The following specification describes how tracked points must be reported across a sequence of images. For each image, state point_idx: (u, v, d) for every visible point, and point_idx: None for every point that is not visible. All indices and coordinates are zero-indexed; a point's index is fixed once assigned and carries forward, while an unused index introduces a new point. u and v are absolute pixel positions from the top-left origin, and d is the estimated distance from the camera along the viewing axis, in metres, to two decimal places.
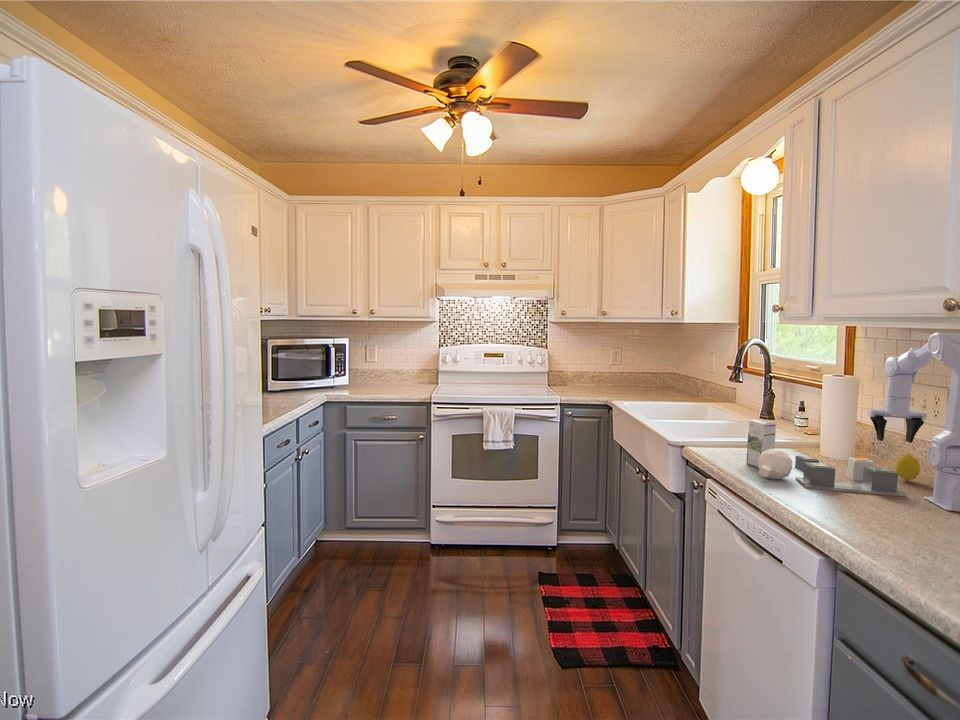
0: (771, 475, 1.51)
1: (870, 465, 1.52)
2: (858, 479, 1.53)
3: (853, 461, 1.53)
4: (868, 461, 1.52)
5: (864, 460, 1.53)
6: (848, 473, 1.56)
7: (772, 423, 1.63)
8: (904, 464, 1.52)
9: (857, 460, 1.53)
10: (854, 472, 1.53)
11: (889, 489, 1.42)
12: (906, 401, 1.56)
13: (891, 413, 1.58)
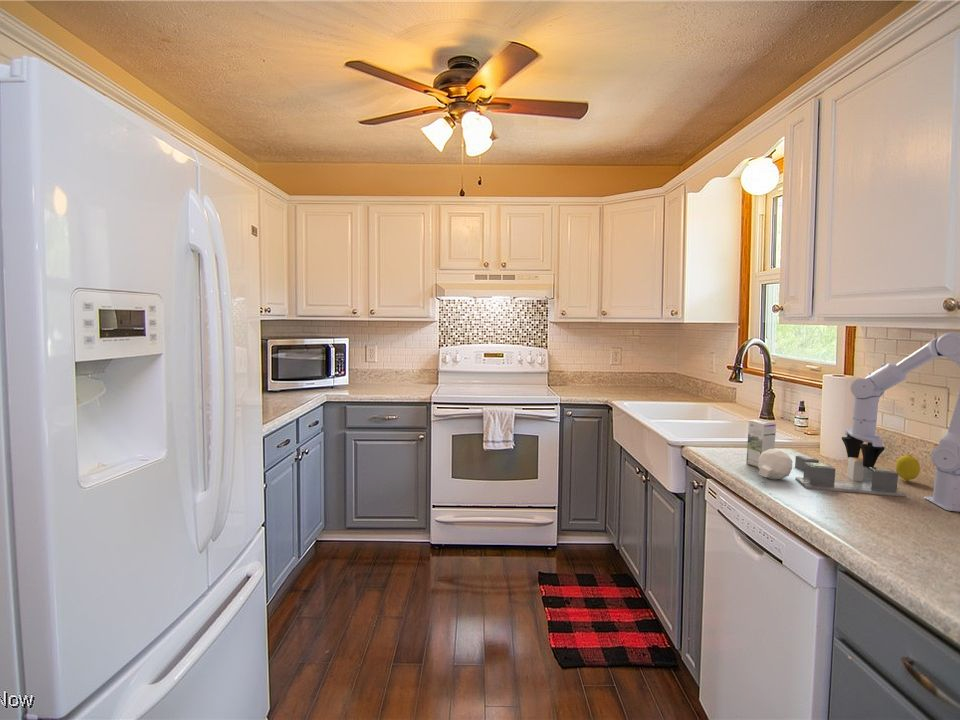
0: (771, 475, 1.51)
1: None
2: (858, 479, 1.53)
3: (853, 461, 1.53)
4: None
5: None
6: (848, 473, 1.56)
7: (772, 423, 1.63)
8: (904, 464, 1.52)
9: (857, 460, 1.53)
10: (854, 472, 1.53)
11: (889, 489, 1.42)
12: (856, 422, 1.52)
13: (849, 433, 1.56)
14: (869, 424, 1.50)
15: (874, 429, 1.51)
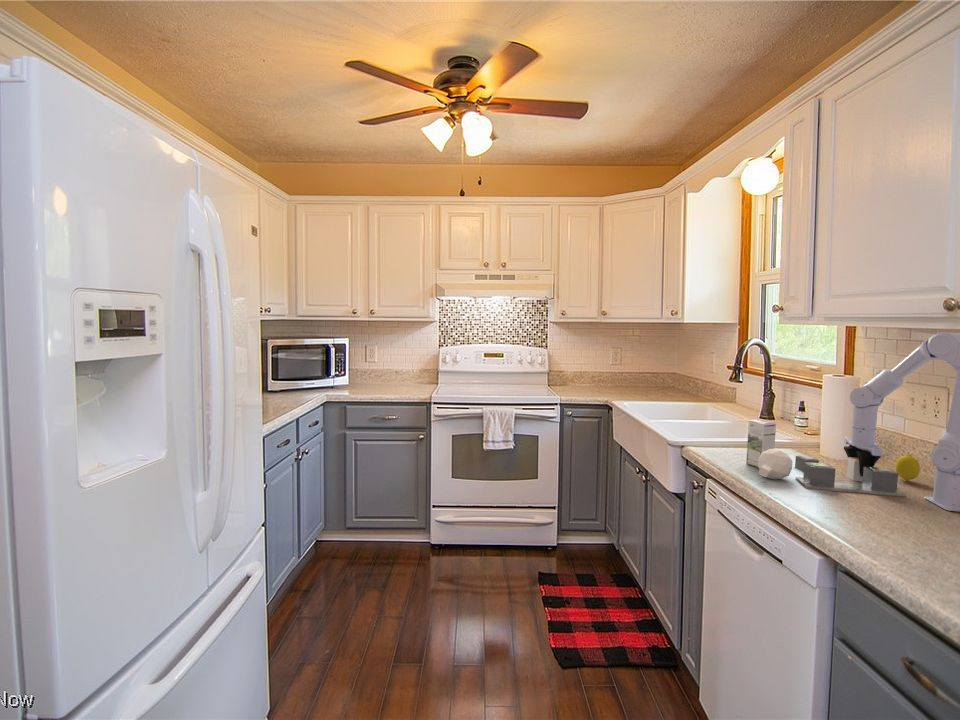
0: (771, 475, 1.51)
1: None
2: (858, 479, 1.53)
3: (853, 461, 1.53)
4: None
5: None
6: (848, 473, 1.56)
7: (772, 423, 1.63)
8: (904, 464, 1.52)
9: (857, 460, 1.53)
10: (855, 472, 1.53)
11: (889, 489, 1.42)
12: (855, 431, 1.53)
13: (848, 441, 1.56)
14: (868, 433, 1.50)
15: (873, 438, 1.51)
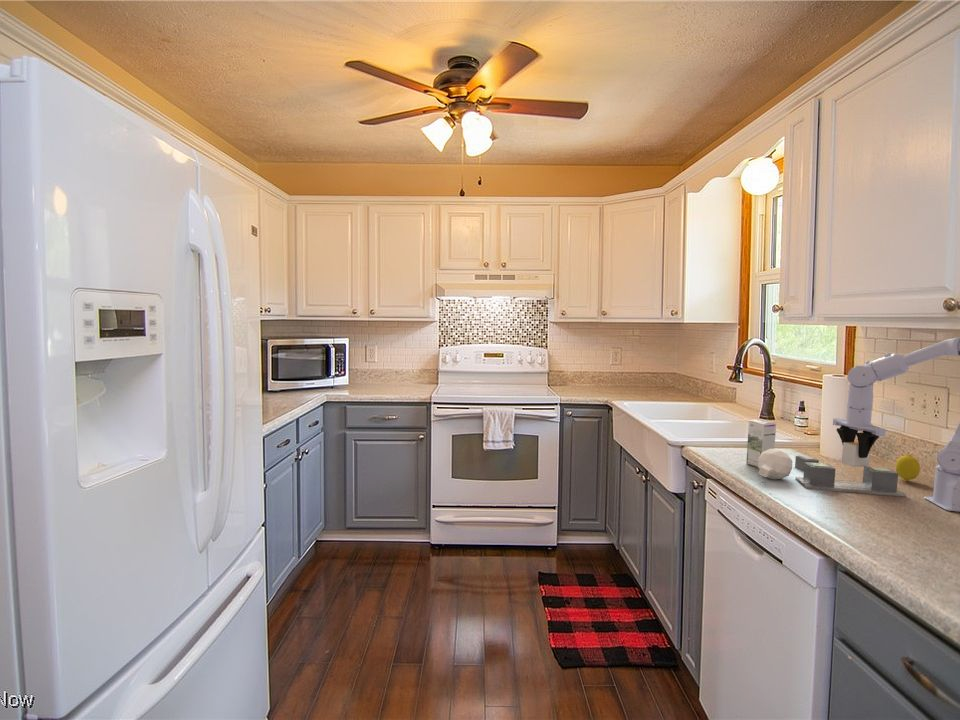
0: (771, 475, 1.51)
1: None
2: (858, 464, 1.47)
3: (853, 446, 1.47)
4: None
5: None
6: (844, 458, 1.49)
7: (772, 423, 1.63)
8: (904, 464, 1.52)
9: (857, 445, 1.47)
10: (855, 458, 1.46)
11: (889, 489, 1.42)
12: (854, 411, 1.46)
13: (843, 423, 1.50)
14: (867, 413, 1.45)
15: (870, 417, 1.46)
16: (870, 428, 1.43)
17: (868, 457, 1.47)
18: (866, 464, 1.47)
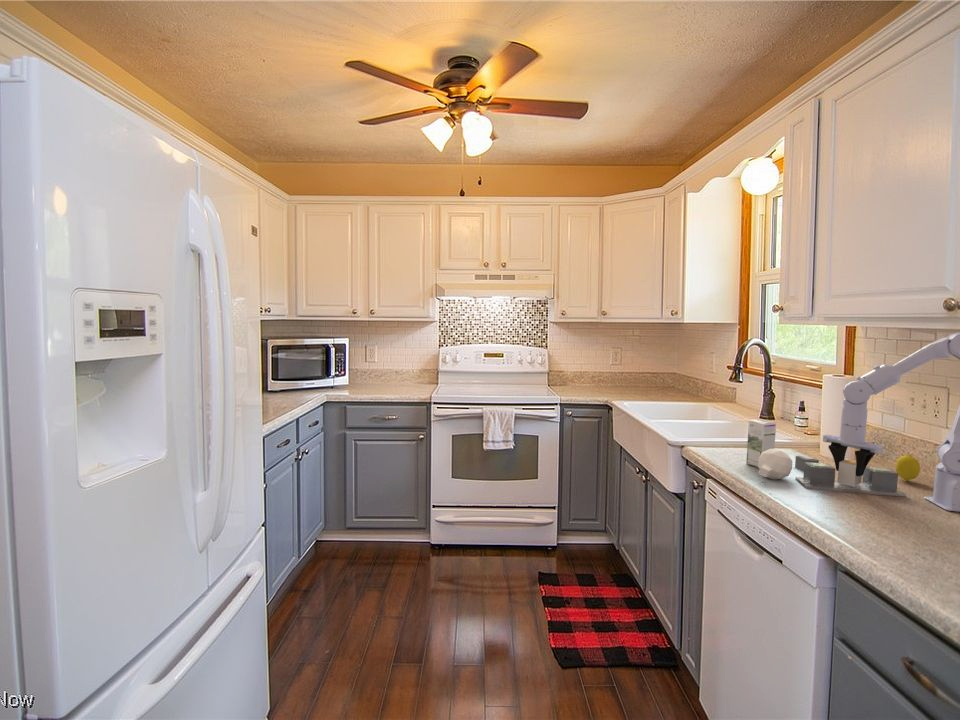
0: (771, 475, 1.51)
1: None
2: (856, 483, 1.44)
3: (853, 466, 1.43)
4: None
5: None
6: (841, 478, 1.46)
7: (772, 423, 1.63)
8: (904, 464, 1.52)
9: (855, 464, 1.44)
10: (855, 478, 1.44)
11: (889, 489, 1.42)
12: (850, 429, 1.43)
13: (837, 440, 1.46)
14: (863, 430, 1.42)
15: (865, 434, 1.43)
16: (868, 446, 1.40)
17: None
18: (860, 481, 1.46)
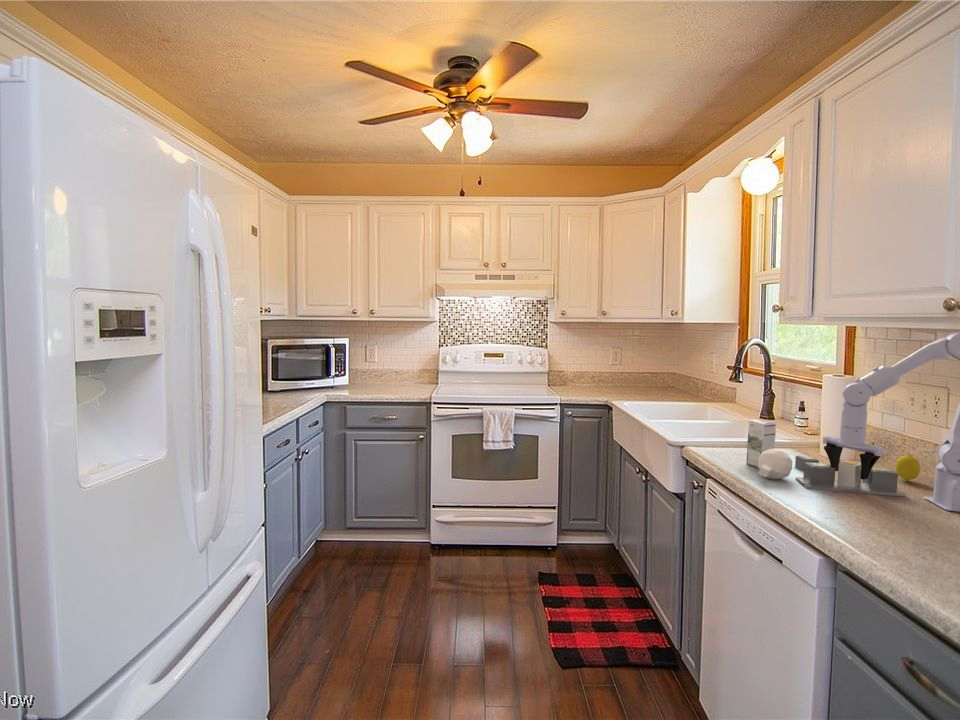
0: (771, 475, 1.51)
1: None
2: (855, 484, 1.45)
3: (852, 467, 1.44)
4: (859, 464, 1.46)
5: (856, 463, 1.46)
6: (841, 479, 1.46)
7: (772, 423, 1.63)
8: (904, 464, 1.52)
9: (854, 465, 1.44)
10: (855, 478, 1.44)
11: (889, 489, 1.42)
12: (850, 431, 1.43)
13: (837, 442, 1.46)
14: (863, 432, 1.42)
15: None
16: (868, 448, 1.40)
17: None
18: (860, 483, 1.46)
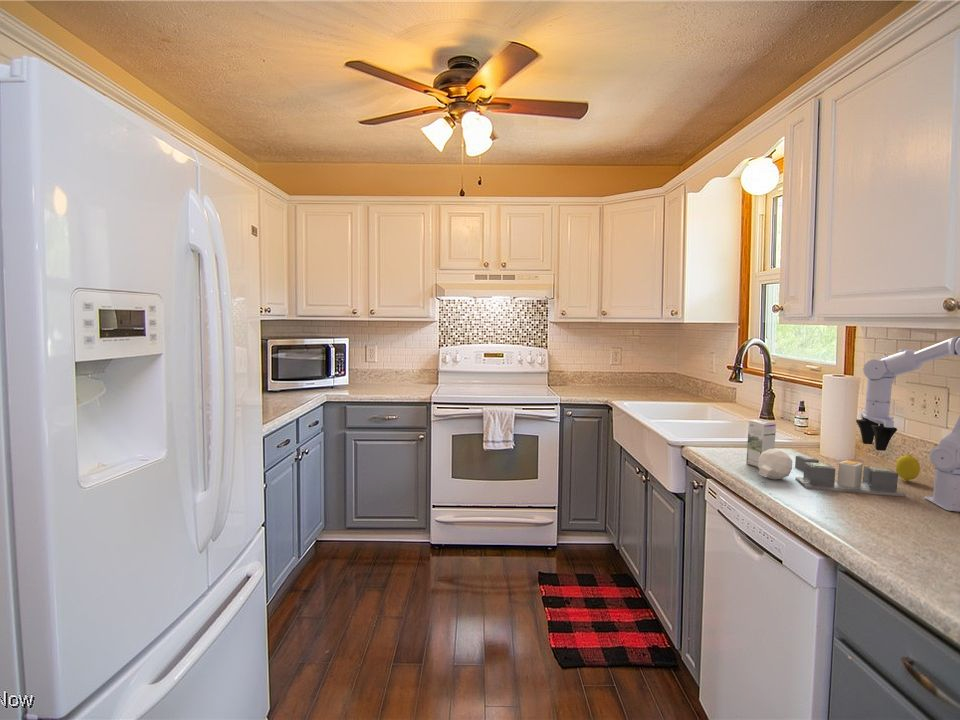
0: (771, 475, 1.51)
1: (861, 467, 1.46)
2: (855, 484, 1.45)
3: (852, 467, 1.44)
4: (859, 464, 1.46)
5: (856, 463, 1.46)
6: (841, 479, 1.46)
7: (772, 423, 1.63)
8: (904, 464, 1.52)
9: (854, 465, 1.44)
10: (855, 478, 1.44)
11: (889, 489, 1.42)
12: (868, 403, 1.51)
13: (863, 415, 1.55)
14: (882, 405, 1.49)
15: (887, 410, 1.49)
16: (880, 420, 1.47)
17: (860, 475, 1.46)
18: (860, 483, 1.46)
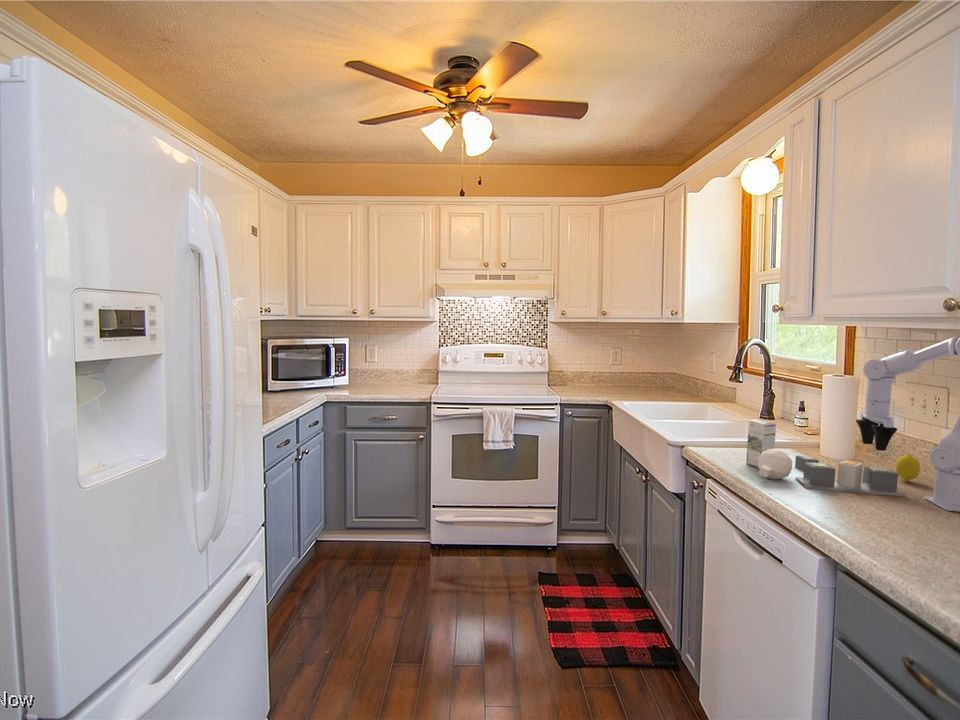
0: (771, 475, 1.51)
1: (861, 467, 1.46)
2: (855, 484, 1.45)
3: (852, 467, 1.44)
4: (859, 464, 1.46)
5: (856, 463, 1.46)
6: (841, 479, 1.46)
7: (772, 423, 1.63)
8: (904, 464, 1.52)
9: (854, 465, 1.44)
10: (855, 478, 1.44)
11: (889, 489, 1.42)
12: (868, 403, 1.51)
13: (863, 415, 1.55)
14: (882, 405, 1.49)
15: (887, 410, 1.49)
16: (880, 420, 1.47)
17: (860, 475, 1.46)
18: (860, 483, 1.46)
